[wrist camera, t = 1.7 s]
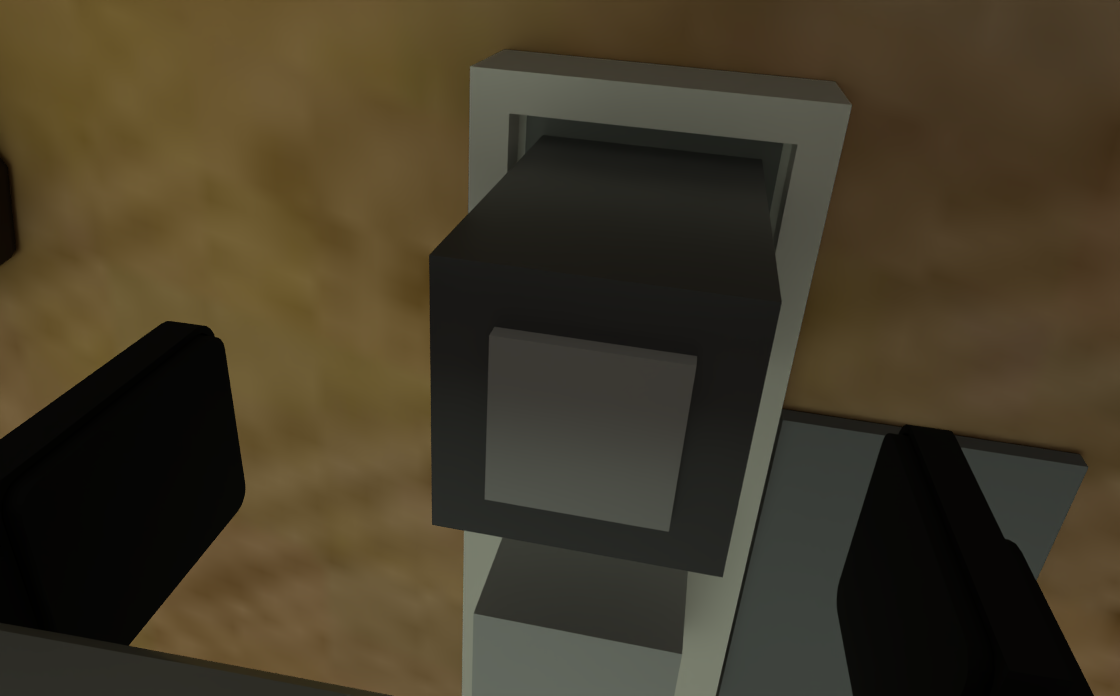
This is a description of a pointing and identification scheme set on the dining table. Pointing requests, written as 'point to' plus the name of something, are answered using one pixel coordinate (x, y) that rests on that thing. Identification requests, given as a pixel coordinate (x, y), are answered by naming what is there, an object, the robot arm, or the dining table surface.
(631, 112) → the power strip
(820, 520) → the mat
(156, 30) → the dining table surface
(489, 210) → the block
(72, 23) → the dining table surface
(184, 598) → the dining table surface
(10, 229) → the beer bottle
